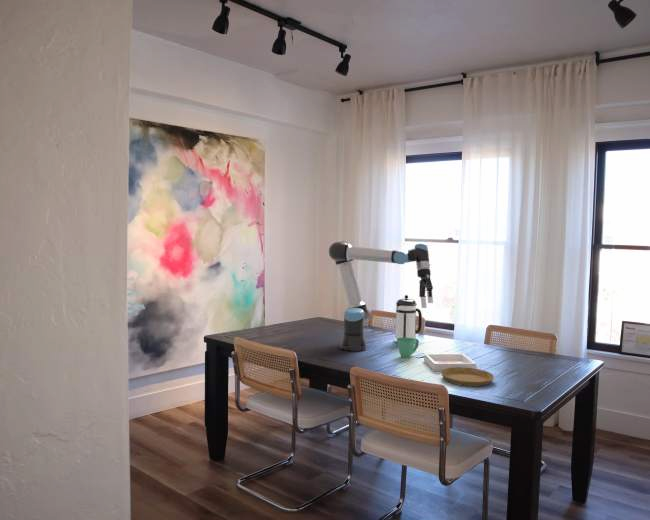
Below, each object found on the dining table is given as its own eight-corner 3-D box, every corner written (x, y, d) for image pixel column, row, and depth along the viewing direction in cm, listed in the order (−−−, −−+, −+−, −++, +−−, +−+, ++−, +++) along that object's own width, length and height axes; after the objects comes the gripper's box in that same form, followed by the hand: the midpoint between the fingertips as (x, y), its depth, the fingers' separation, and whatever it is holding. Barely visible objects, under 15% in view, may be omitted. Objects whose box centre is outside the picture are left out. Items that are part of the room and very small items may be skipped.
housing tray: (434, 371, 264) (434, 363, 263) (424, 360, 285) (424, 353, 285) (476, 371, 265) (476, 363, 264) (462, 361, 286) (463, 353, 286)
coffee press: (417, 345, 323) (418, 297, 322) (391, 343, 328) (392, 295, 327) (421, 340, 340) (422, 294, 338) (396, 338, 345) (397, 292, 343)
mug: (406, 360, 286) (406, 341, 286) (392, 356, 294) (393, 338, 294) (423, 356, 296) (424, 338, 295) (410, 353, 303) (411, 335, 303)
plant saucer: (502, 388, 238) (502, 380, 238) (450, 388, 236) (450, 381, 236) (482, 373, 262) (482, 367, 262) (434, 374, 260) (434, 367, 260)
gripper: (435, 263, 296) (440, 300, 290) (424, 275, 320) (427, 309, 314) (422, 263, 296) (426, 300, 289) (412, 275, 319) (415, 309, 313)
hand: (427, 305), depth 302 cm, fingers open, 13 cm apart
